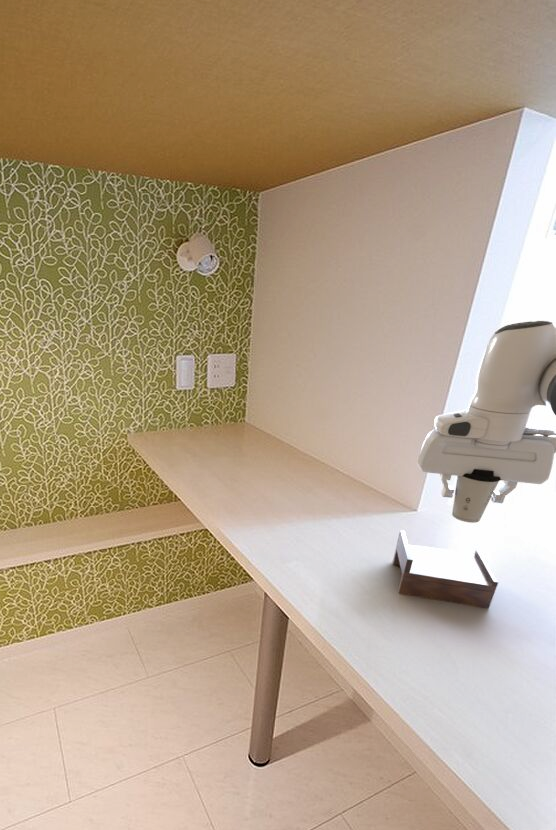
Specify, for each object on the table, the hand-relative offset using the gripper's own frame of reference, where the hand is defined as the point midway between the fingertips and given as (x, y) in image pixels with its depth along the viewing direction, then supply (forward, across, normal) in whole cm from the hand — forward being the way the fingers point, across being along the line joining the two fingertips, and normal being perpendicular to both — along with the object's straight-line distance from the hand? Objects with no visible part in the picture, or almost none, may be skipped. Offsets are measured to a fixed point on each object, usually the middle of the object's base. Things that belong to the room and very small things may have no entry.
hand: (470, 499), depth 79 cm
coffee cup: (+4, 0, 0) cm, 4 cm away
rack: (+20, +1, -1) cm, 20 cm away
